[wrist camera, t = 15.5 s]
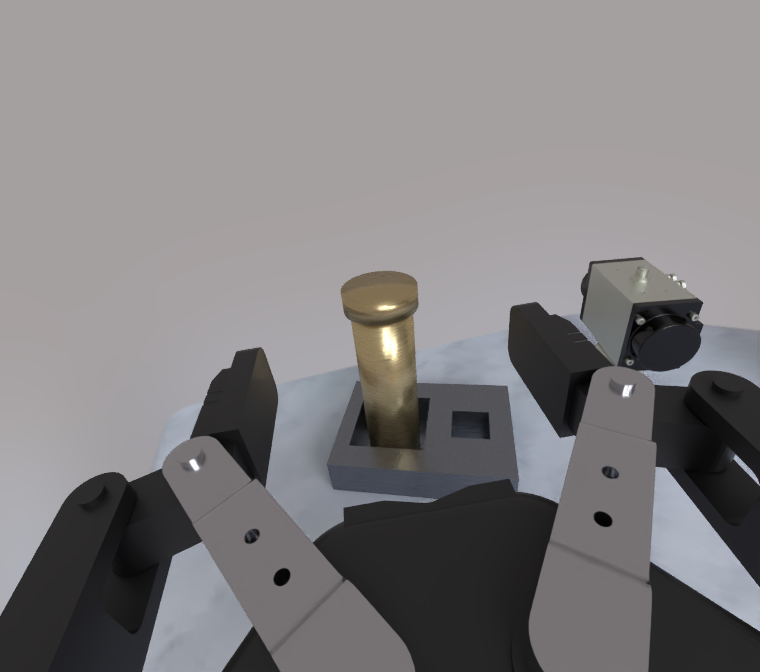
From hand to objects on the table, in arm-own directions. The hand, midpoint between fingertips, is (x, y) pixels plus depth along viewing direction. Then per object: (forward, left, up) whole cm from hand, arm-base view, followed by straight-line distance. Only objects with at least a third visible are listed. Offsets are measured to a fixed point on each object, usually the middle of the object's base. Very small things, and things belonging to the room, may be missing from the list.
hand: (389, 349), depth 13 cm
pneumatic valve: (-17, -24, -20) cm, 35 cm away
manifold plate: (+1, -14, -20) cm, 24 cm away
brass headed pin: (+4, -14, -19) cm, 24 cm away
